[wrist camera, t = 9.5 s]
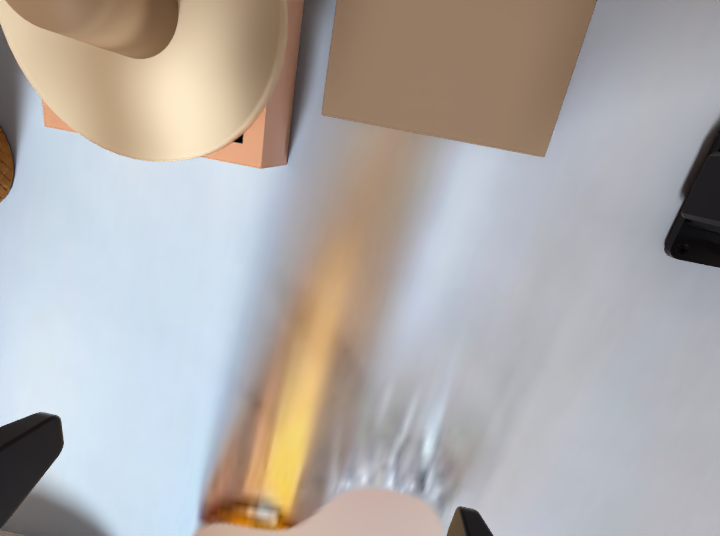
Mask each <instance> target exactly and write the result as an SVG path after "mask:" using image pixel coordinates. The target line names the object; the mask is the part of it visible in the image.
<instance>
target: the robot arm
mask: <svg viewBox="0 0 720 536" xmlns="http://www.w3.org/2000/svg"><path fill="white" fill-rule="evenodd" d="M680 244H682V248H681V249H680V250H679V251H676V249H677V247H678V246H679V245H680ZM664 250H665V253H666V254H667V255H668V256H671V257H673V258H676V259H679V260H684V261H689V262H694V263H699V264H704V265H709V266H714V267H719V268H720V131H719V134H718V136H717V138H716V140H715V142H714V144H713V146H712V148H711V150H710V152H709V154H708V156H707V157H706V159H705V161H704V163H703V166H702V168H701V170H700V172H699V174H698V176H697V178H696V180H695V182H694V184H693V186H692V189H691V191H690V193H689V195H688V197H687V199H686V201H685V203H684V205H683V207H682V209H681V213H680V215H679V217H678V219H677V221H676V223H675V225H674V227H673V230H672V232H671V234H670V236H669V238H668V240H667V242H666V244H665V248H664ZM63 445H64V440H63V432H62V423H61V419H60V417H59V416H57V415H53V414H49V413H44V412H39V413H35V414H33V415H30V416H27V417H25V418H22V419H20V420H17V421H15V422H12V423H9V424H7V425H4V426H2V427H0V529H1V528H2V526H3V525H4V524H5V523H6V522H7V520H8V519H9V518H10V517H11V516H12V514H13V513H14V512H15V511H16V509H17V508H18V507H19V505H20V504H21V503H22V502H23V500H24V499H25V498H26V497H27V495H28V494H29V493H30V491H31V490H32V489H33V488H34V486H35V485H36V484H37V483H38V481H39V480H40V479H41V477H42V476H43V475H44V474H45V472H46V471H47V470H48V469H49V467H50V466H51V465H52V463H53V462H54V461H55V460H56V458H57V457H58V456H59V454H60V452H61V451H62V448H63ZM447 536H493V534H492V533H491V531H490V529H489V528H488V526H487V525H486V523H485V521H484V520H483V518H482V517H481V515H480V514H479V512H478V511H476V510H474V509H471V508H466V507H462V506H459V507H458V508H457V509H456V511H455V513H454V516H453V519H452V521H451V524H450V527H449V529H448V533H447Z"/></svg>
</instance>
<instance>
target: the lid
mask: <svg viewBox="0 0 720 536" xmlns="http://www.w3.org/2000/svg"><path fill="white" fill-rule="evenodd" d="M0 24H1V27H2V29H3V32H4V34H5V37H6V39H7V42H8V45H9V47H10V49H11V51H12V53H13V55H14V57H15V59H16V61H17V63H18V65H19V66H20V68H21V70H22V71H23V73H24V74H25V76H26V78H27V79H28V81H29V82H30V84H31V85H32V86H33V88H34V89H35V90H36V92H37V93H38V94H39V96H40V97H41V98H42V100H43V101H44V102H45V103H46V104H47V105H48V106H49V107H50V108H51V109H52V111H53V112H54V113H55V114H56V115H57V116H58V117H59V118H61V119H62V120H63V121H64V122H65V123H66V124H67V125H68V126H70V127H71V128H72V129H73V130H75V131H76V132H78V133H79V134H80V135H82V136H83V137H85V138H86V139H88V140H89V141H91V142H93V143H95V144H97V145H98V146H100V147H102V148H104V149H107V150H109V151H111V152H114V153H116V154H119V155H122V156H126V157H130V158H133V159H139V160H146V161H178V160H187V159H194V158H199V157H202V156H205V155H209V154H212V153H214V152H216V151H218V150H220V149H222V148H224V147H226V146H228V145H229V144H231V143H232V142H234V141H235V140H236V139H238V138H239V137H240V136H241V135H243V134H244V133H245V132H246V131H247V130H248V129H249V128H250V127H251V126H252V125H253V123H254V122H255V121H256V120H257V118H258V117H259V116H260V114H261V113H262V112H263V110H264V108H265V107H266V105H267V103H268V102H269V100H270V98H271V96H272V94H273V92H274V89H275V87H276V84H277V82H278V80H279V76H280V73H281V69H282V66H283V62H284V57H285V51H286V44H287V32H288V10H287V0H0Z"/></svg>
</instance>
